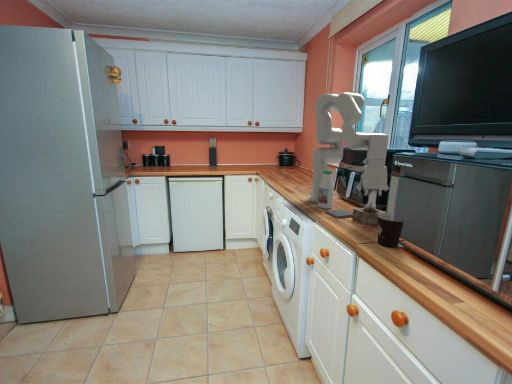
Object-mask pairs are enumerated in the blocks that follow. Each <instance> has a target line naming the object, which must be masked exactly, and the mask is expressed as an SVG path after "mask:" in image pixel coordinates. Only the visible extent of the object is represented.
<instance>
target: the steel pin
mask: <svg viewBox="0 0 512 384" xmlns="http://www.w3.org/2000/svg"><path fill="white" fill-rule="evenodd" d="M377 191H378V190H376V189H369V190H368V193H367V196H368V200H367V204H364V207H363V208H364V211H365V212H368V213H375V209H376V206H377V204H376V199H377Z"/></svg>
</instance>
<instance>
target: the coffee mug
mask: <svg viewBox="0 0 512 384" xmlns="http://www.w3.org/2000/svg"><path fill="white" fill-rule="evenodd" d="M391 214H392V213H388V214H379V215H378V225H377V244H378V245H379V246H381V247H383V248H386V249H387V248H388V249H396V248H398V246H399V244H400V240H399V238H400V239H401V237H400V235H401V236H402V233H401V231H402V232H403V230H402V227H403V228H404V226H403V222H404V221H392V220H391ZM398 241H399V242H398Z"/></svg>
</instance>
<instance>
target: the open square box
mask: <svg viewBox="0 0 512 384" xmlns="http://www.w3.org/2000/svg"><path fill="white" fill-rule="evenodd" d="M364 208H365V207H359V208H353V210H352V213H353V217H352V218H351V219H352V220H353V221H356V222H358V223H361V224H362V225H365V226H367V227H370V226H372V227H373V226H378V215H379V214H386V213H387V212H386V211H383V210H381V209H378V208H375V213H368V212H365V211H364Z"/></svg>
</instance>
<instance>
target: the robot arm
mask: <svg viewBox="0 0 512 384" xmlns="http://www.w3.org/2000/svg"><path fill="white" fill-rule="evenodd" d="M364 106H365V98H364V97H363V95H362V94H359V93H356V92H355V93H353V92H342V93H338V94H337V93H335V94H334V93H322V94H320V95H319V96H318V97H317V99H316V101H315V104H314V113H315V118H316V122H315V124H316V125H315V126H316V127H315V128H316V129H315V141H316V143H317V144H318V145H322V146H321V147H316V148H315V149H314V150H313V151H312V165H313V166H312V169H313V170H312V186H311V192H310V193H309V195H310V197H309V198H308V201H309V202H312V203H314V202H315V203H316V204H318V195H319V185H320V182H321V180H322V178H323V171H324V170H330V168H329V164H330V165H335V164H336V165H337V164H339V163H340V162H341V161H342V160H343V156H344V146H345V145H346V147H348V149H350V150H352V151H367V152H366V158H365V159H364V160H362V163H363V164H365V165H364V166H363V168H362V170H361V171H362V173H361V176H360V182H358V183H357V185H356V186H355V188H356V189H357V190H358V191H359V192H361V194H362V199H361V202H362V203H363V205H365V204H367V200H368V196H367V193H368V190H369V189H376V190H378V191H377V199H376V206H377V205H379V203H380V200H381V196H382V195H383V194H384V193H385V192H387V191H388V190H389V189H390V187H389V185H388V167H387V166H386V160H387V159H386V158H387V150H388V144H389V143H388V142H389V135H388V134H386V133H372V132H371V133H369V132H367V133H366V132H356V130H355V128H354V126H355V125H357V123H359V122H360V121H361V120H362V117H363V114H362V111H361V110H362V109H363V108H364ZM330 111H331V112H338V113H339V115H340V116H341V119H342V121H343V124H342V126H341V129H340V128H337V127H333V119H332V116H331V114H330ZM344 143H345V145H344ZM323 145H324V146H323ZM329 145H330V146H329Z"/></svg>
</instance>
